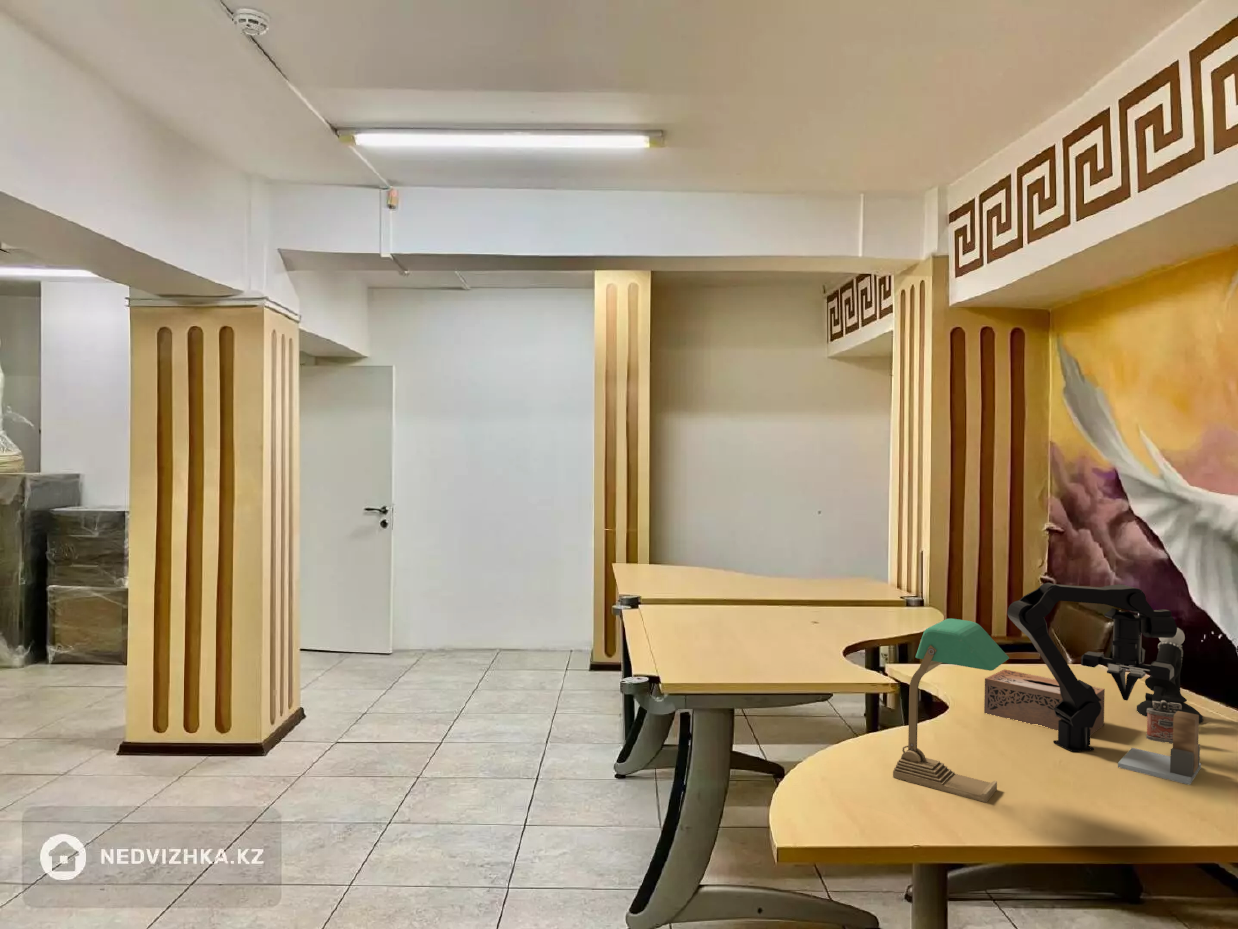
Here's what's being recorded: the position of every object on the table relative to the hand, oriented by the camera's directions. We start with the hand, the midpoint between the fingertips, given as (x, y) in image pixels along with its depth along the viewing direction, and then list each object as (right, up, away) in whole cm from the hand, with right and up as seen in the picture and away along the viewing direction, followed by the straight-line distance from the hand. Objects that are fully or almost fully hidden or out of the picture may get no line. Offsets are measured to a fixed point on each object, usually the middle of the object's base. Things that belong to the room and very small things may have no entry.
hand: (1125, 700), depth 195 cm
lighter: (+14, -12, +6) cm, 20 cm away
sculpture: (+26, -12, +23) cm, 37 cm away
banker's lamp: (-54, -12, -23) cm, 60 cm away
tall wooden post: (+4, -11, -15) cm, 19 cm away
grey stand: (0, -12, -12) cm, 17 cm away
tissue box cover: (-9, -12, +22) cm, 26 cm away
